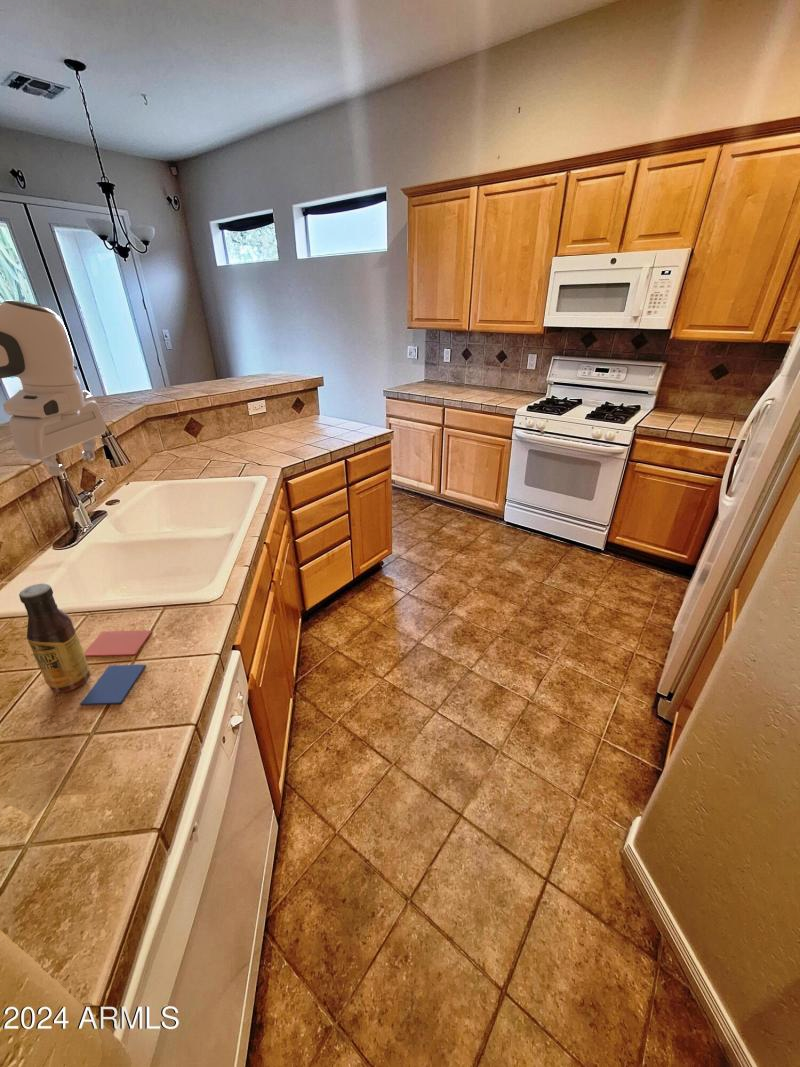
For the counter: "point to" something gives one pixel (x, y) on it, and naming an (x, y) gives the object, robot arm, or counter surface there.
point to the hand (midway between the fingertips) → (74, 466)
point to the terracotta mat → (117, 643)
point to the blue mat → (113, 685)
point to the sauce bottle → (53, 640)
